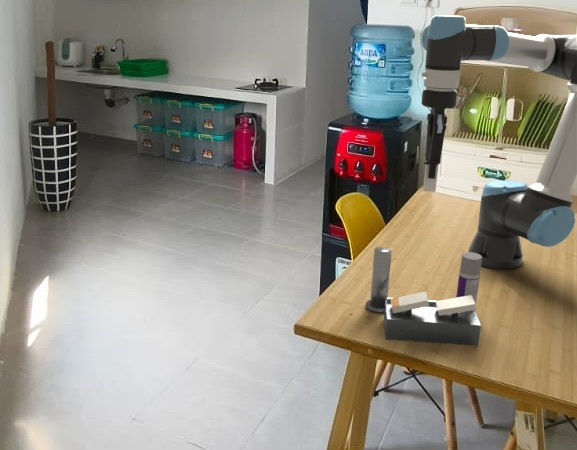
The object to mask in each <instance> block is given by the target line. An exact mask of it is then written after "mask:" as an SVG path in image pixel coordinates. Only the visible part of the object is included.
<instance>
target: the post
mask: <svg viewBox="0 0 577 450" xmlns="http://www.w3.org/2000/svg"><path fill="white" fill-rule="evenodd" d="M392 252H393V251H392V249H391V248H388V247H385V246H383V247H382V246H381V247H379V246H378V247H376V248H374V252H373V263H372V275H371V276H372V277H371V289H370V300H369V299H368V301H366V302H365V309H366V310H367V311H368V312H370V313H373V314H381V315H382V314H383V315H384V308H385V301H387V298H389V296H388V294H389V284H390V272H391V265H392V264H391V262H392Z"/></svg>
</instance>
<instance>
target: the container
mask: <svg viewBox="0 0 577 450" xmlns="http://www.w3.org/2000/svg"><path fill="white" fill-rule="evenodd" d="M481 262H482V256H481V255H479V254H477V253H473V252H468V251H467V252H464V253H463V252H462V254H461V261H460V265H459V267H460V268H459V273H458V274H459V275H458V281H457V288H456V295H455V298H457V297H463V296H469V295H472V297H473V300H474V302H475V306H476V305H477V299H478V292H479V285H480V278H481V269H482V265H481Z"/></svg>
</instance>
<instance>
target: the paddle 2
mask: <svg viewBox="0 0 577 450" xmlns="http://www.w3.org/2000/svg"><path fill="white" fill-rule="evenodd" d="M435 301H436V307H437V310H438V314H439V316H441V315H447V314H453V313H459V312H465V311H471V310H475V311H476V310H477V307H476V306H475V302H474V300H473V297H472V295H469V296H463V297H457V298H456V297H451V298H447V299H446V298H445V299H440V300H435Z"/></svg>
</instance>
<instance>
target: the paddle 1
mask: <svg viewBox="0 0 577 450" xmlns="http://www.w3.org/2000/svg"><path fill="white" fill-rule="evenodd" d="M427 294H428V293H427V291H421V292H417V293H412V294H407V295H403V296H396V297H390V298H391V306H392V311H393V313H397V312H402V311H407V310H412V309H417V308H421V307H426V306H429V302H428V300H429V299H428V295H427Z"/></svg>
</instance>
